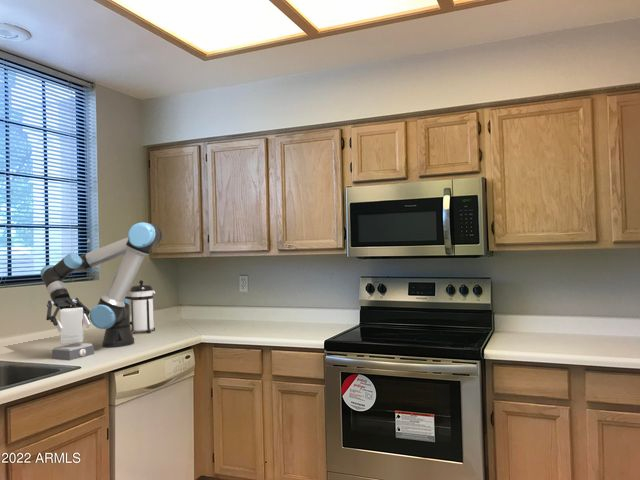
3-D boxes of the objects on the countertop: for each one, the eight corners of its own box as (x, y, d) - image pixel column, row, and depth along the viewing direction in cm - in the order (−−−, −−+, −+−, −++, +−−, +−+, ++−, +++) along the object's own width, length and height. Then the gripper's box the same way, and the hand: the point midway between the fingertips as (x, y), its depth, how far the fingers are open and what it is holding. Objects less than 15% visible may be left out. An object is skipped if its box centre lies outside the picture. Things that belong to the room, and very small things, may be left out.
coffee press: (148, 329, 307) (146, 279, 307) (161, 331, 296) (159, 279, 296) (119, 333, 295) (117, 281, 295) (132, 336, 284) (130, 281, 284)
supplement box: (82, 342, 231) (81, 309, 231) (60, 344, 228) (59, 310, 228) (84, 339, 239) (83, 306, 239) (63, 341, 236) (62, 308, 236)
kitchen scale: (76, 352, 242) (76, 342, 242) (95, 354, 237) (94, 343, 237) (52, 358, 230) (51, 348, 230) (71, 360, 225) (70, 349, 225)
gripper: (81, 295, 253) (98, 329, 243) (29, 301, 234) (44, 337, 224) (86, 285, 249) (103, 318, 240) (33, 289, 231) (49, 326, 221)
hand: (75, 328), depth 232 cm, fingers closed on supplement box, 12 cm apart
